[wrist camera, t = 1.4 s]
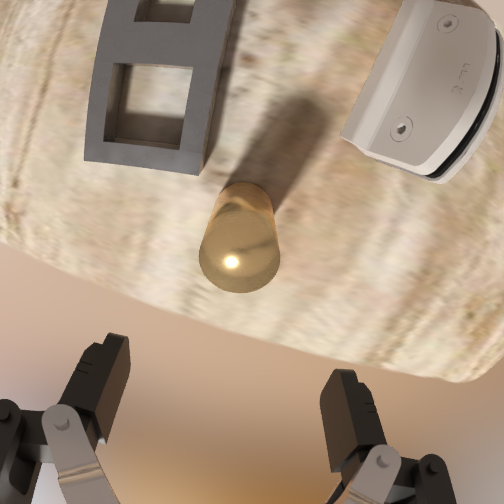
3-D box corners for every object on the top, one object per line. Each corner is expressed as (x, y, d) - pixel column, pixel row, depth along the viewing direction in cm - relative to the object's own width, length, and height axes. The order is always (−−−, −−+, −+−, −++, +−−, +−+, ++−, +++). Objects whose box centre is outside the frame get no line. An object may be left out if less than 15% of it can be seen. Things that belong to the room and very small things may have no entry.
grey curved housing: (407, -9, 18) (499, -7, 10) (437, 21, 20) (523, 35, 12) (337, 139, 25) (421, 187, 17) (373, 159, 27) (452, 209, 19)
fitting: (277, 188, 27) (288, 229, 19) (265, 240, 29) (270, 298, 21) (219, 177, 26) (204, 214, 18) (211, 230, 29) (194, 285, 20)
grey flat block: (249, -46, 17) (249, -58, 15) (203, 168, 26) (198, 175, 24) (137, -48, 16) (127, -58, 14) (96, 154, 25) (83, 160, 23)
